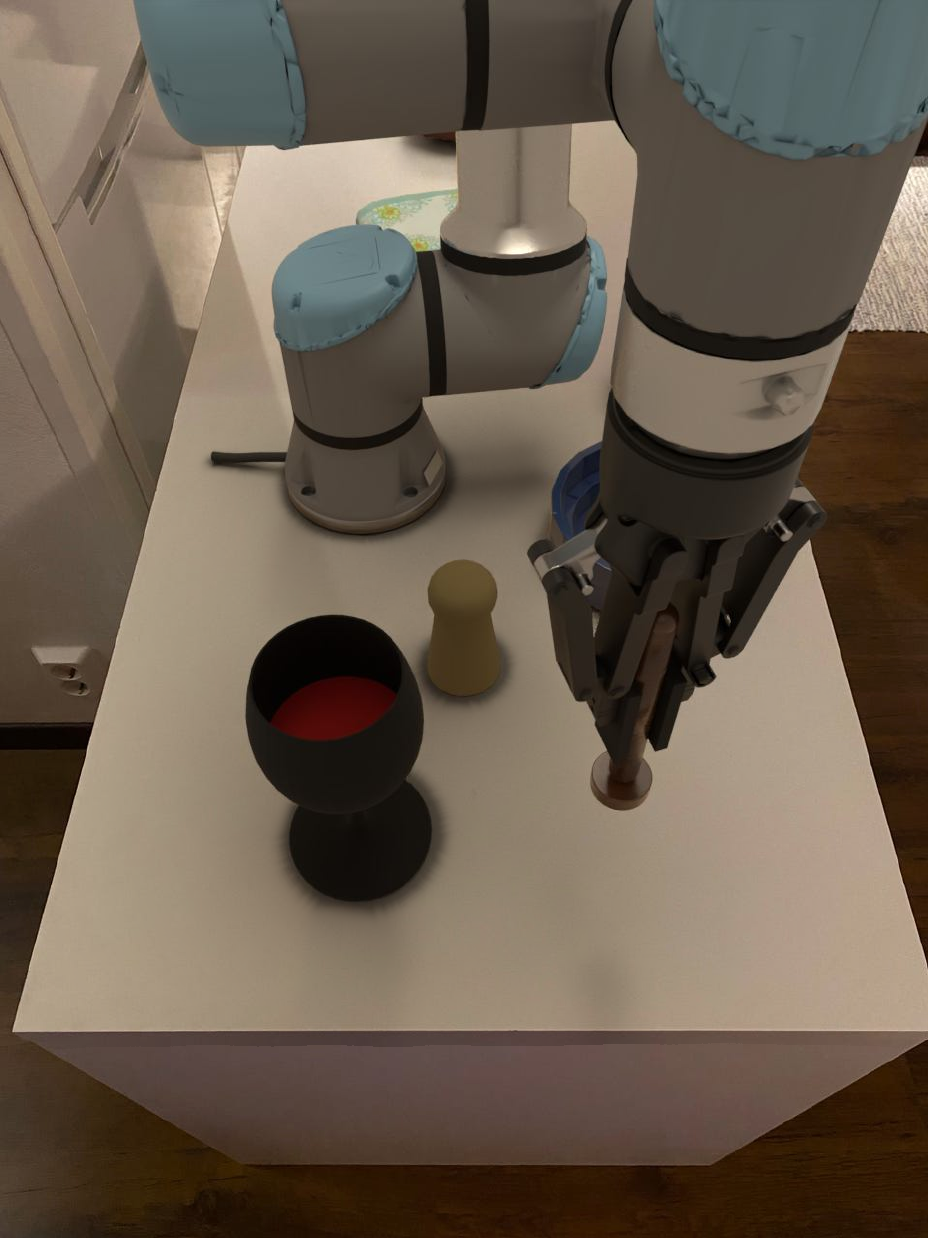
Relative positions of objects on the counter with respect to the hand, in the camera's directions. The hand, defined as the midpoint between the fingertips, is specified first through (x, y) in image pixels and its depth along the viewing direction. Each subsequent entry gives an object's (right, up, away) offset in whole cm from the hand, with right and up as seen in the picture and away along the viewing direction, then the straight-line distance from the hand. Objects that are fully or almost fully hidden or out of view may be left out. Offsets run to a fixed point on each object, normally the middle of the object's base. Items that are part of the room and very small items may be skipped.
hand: (630, 736), depth 53 cm
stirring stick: (0, -3, +4) cm, 5 cm away
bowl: (+7, +13, +32) cm, 35 cm away
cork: (-9, +3, +25) cm, 27 cm away
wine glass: (-17, -9, +16) cm, 25 cm away
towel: (-10, +50, +62) cm, 80 cm away
